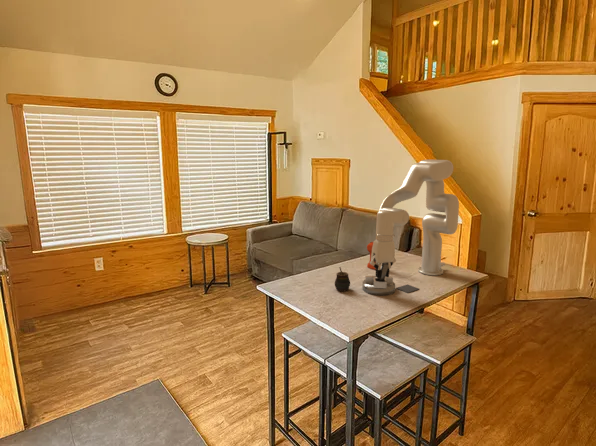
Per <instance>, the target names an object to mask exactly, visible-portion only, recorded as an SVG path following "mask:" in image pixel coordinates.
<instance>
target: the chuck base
mask: <svg viewBox="0 0 596 446" xmlns="http://www.w3.org/2000/svg"><path fill="white" fill-rule="evenodd" d="M361 288H362V291H363V292H364V293H366V294H368V295H372V296H381V297H383V296H391V295H393V294H394V293H395V292H396V283H395V282H394V281H393V284H387V287H386V288H374V286H373V283H365V279H364V280H363V281H362V287H361Z"/></svg>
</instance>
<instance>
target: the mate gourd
mask: <svg viewBox="0 0 596 446" xmlns="http://www.w3.org/2000/svg"><path fill="white" fill-rule="evenodd" d="M338 268H339V270H340V271H338V272H336V274H335V275H336V279H335V281H334V286H335V289H336V290H337V291H338V292H346V291H348V290H349V289H350V287H351V280H350V278H349V273H348V272H346V271H342V268H341V266H340V267H338Z"/></svg>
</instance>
